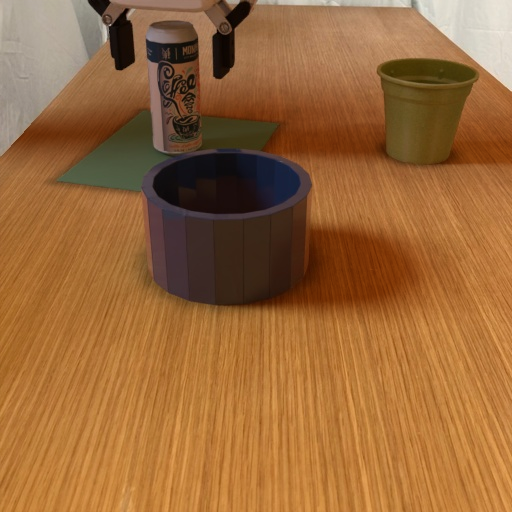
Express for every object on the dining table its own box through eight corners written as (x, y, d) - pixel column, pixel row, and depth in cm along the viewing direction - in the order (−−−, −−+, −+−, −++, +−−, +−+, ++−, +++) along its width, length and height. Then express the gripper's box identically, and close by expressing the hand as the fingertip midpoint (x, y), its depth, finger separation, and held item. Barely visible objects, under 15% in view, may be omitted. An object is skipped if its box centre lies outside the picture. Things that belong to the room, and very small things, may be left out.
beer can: (172, 162, 66) (164, 33, 60) (144, 147, 69) (134, 24, 63) (211, 150, 69) (208, 25, 63) (183, 136, 72) (177, 16, 66)
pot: (123, 296, 48) (112, 206, 44) (181, 220, 57) (177, 141, 54) (287, 323, 45) (291, 229, 42) (320, 239, 55) (325, 157, 51)
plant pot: (351, 146, 71) (358, 62, 67) (427, 134, 75) (439, 53, 70) (402, 182, 64) (414, 89, 60) (484, 166, 67) (501, 77, 63)
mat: (56, 186, 63) (55, 180, 62) (143, 115, 79) (143, 110, 79) (225, 207, 59) (225, 201, 59) (279, 128, 76) (279, 123, 76)
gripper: (42, -140, 55) (70, 74, 64) (252, -137, 51) (251, 90, 60) (86, -142, 61) (105, 54, 70) (276, -139, 58) (272, 67, 66)
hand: (173, 70), depth 65 cm, fingers open, 9 cm apart
